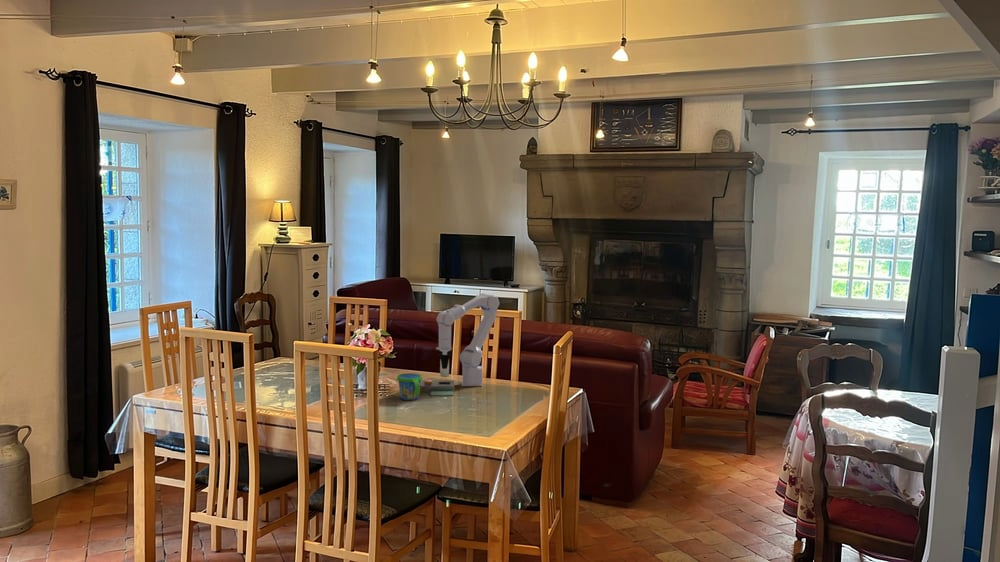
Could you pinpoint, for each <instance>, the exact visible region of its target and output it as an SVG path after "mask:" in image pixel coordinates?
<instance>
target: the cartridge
mask: <svg viewBox="0 0 1000 562" xmlns="http://www.w3.org/2000/svg"><path fill="white" fill-rule="evenodd" d="M439 361H440V362H439V365H440V366H439V374H440V375H439V376H440V377H442V378H448V377H449V376H450V360H449V361H448V366H447V369H442V364H441V359H440V358H439Z"/></svg>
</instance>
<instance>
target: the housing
mask: <svg viewBox="0 0 1000 562" xmlns="http://www.w3.org/2000/svg"><path fill="white" fill-rule="evenodd" d="M424 380H425V379H422V380H421V383H420V393H421V392H425V393H428V392H429V393H431V391H453V393H454V392H455V380H454V379H453V380H452V379H451V380H450V379H444V380H443V379H442V380H441V379H438V380H437V379H431V380H432V382H431V384H425V382H424Z"/></svg>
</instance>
